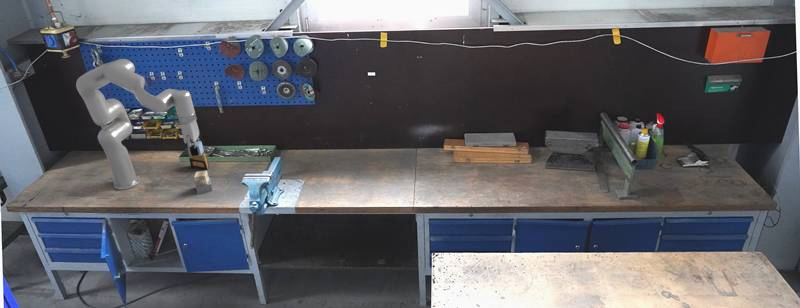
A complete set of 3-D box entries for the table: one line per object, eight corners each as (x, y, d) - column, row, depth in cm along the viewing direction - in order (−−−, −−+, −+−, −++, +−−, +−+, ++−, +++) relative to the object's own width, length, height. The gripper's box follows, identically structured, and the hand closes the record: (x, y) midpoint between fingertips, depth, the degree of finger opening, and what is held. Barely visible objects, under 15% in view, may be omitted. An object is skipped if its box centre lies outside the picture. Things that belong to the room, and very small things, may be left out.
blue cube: (190, 156, 257) (187, 146, 255) (193, 151, 262) (190, 142, 259) (201, 155, 258) (198, 145, 255) (203, 150, 262) (201, 141, 260)
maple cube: (196, 185, 265) (194, 176, 262) (198, 180, 269) (196, 171, 267) (207, 184, 265) (204, 175, 263) (209, 179, 269) (206, 170, 267)
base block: (197, 194, 265) (195, 187, 263) (197, 187, 271) (195, 180, 269) (212, 191, 267) (210, 184, 265) (211, 184, 273) (210, 177, 271)
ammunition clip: (209, 168, 287) (204, 148, 281) (207, 170, 285) (202, 149, 280) (193, 165, 291) (187, 145, 285) (191, 167, 289) (185, 146, 283)
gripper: (183, 110, 258) (193, 144, 267) (173, 126, 243) (183, 162, 252) (200, 109, 258) (208, 143, 267) (190, 124, 243) (200, 160, 252)
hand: (196, 152), depth 259 cm, fingers closed on blue cube, 5 cm apart
